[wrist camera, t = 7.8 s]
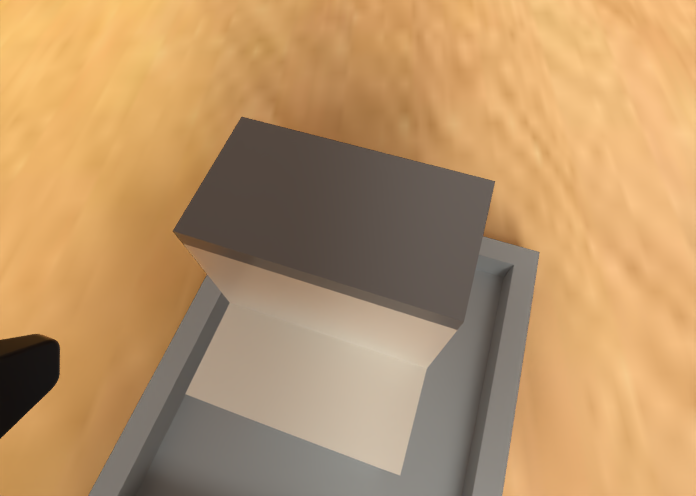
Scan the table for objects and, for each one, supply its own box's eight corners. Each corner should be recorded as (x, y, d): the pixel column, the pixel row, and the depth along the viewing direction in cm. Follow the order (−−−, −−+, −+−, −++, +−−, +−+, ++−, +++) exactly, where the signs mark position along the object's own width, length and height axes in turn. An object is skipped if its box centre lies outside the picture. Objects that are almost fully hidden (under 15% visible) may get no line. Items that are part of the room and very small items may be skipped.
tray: (454, 678, 14) (468, 711, 12) (104, 518, 16) (71, 526, 15) (523, 270, 21) (539, 252, 19) (268, 197, 23) (261, 174, 21)
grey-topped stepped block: (380, 468, 17) (428, 484, 6) (254, 420, 17) (95, 359, 7) (418, 326, 19) (500, 158, 8) (307, 290, 20) (253, 97, 9)
